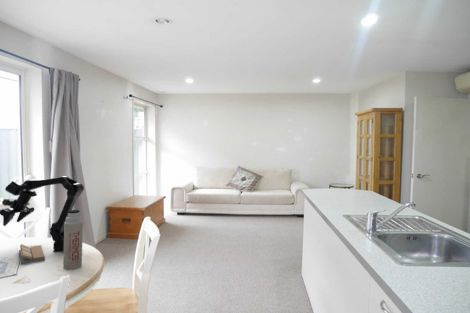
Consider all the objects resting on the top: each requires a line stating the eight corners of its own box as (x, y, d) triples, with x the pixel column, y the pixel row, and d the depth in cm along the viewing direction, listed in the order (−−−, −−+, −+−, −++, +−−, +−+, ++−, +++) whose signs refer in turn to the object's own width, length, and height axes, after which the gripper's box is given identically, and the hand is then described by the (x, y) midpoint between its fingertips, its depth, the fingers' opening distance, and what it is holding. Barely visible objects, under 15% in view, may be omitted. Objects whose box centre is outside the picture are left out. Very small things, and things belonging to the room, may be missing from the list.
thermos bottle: (81, 268, 142) (83, 211, 141) (62, 271, 138) (64, 212, 137) (81, 262, 149) (83, 208, 148) (63, 264, 145) (65, 209, 144)
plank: (20, 245, 159) (21, 244, 159) (28, 248, 161) (29, 246, 161) (21, 256, 144) (22, 254, 144) (31, 259, 146) (32, 257, 147)
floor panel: (19, 252, 159) (19, 248, 159) (40, 248, 165) (40, 245, 165) (20, 264, 143) (20, 260, 143) (44, 260, 150) (44, 256, 150)
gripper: (24, 190, 174) (12, 213, 174) (-3, 194, 155) (-17, 220, 156) (40, 199, 173) (28, 222, 174) (14, 205, 155) (1, 230, 155)
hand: (10, 223), depth 165 cm, fingers open, 9 cm apart
